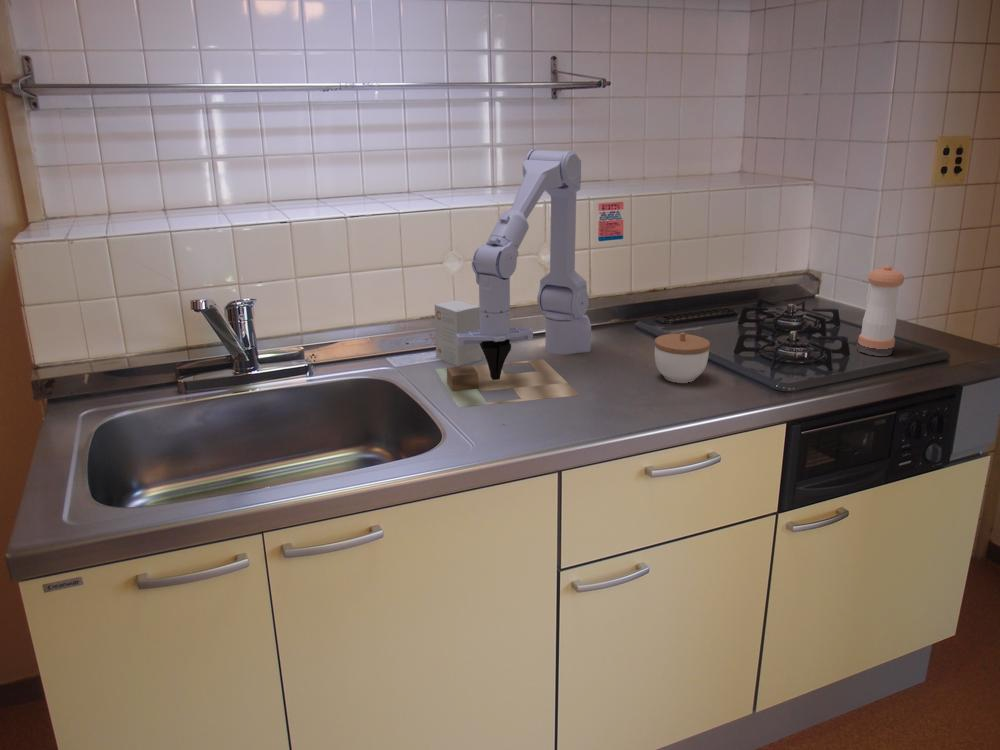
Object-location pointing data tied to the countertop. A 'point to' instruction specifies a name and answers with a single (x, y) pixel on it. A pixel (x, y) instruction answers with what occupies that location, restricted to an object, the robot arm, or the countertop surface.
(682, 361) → the lidded jar
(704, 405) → the countertop surface
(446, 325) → the small box
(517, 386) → the board
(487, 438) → the countertop surface
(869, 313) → the pepper shaker
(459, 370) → the block
